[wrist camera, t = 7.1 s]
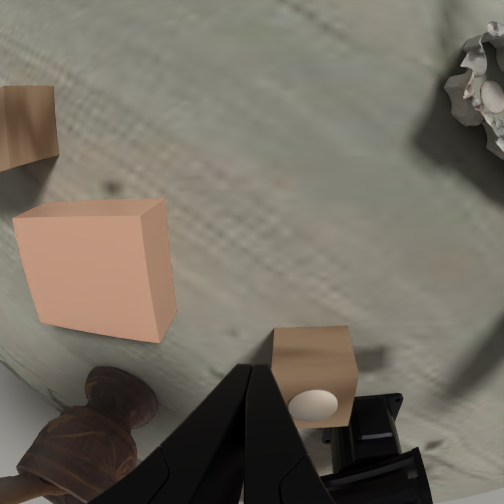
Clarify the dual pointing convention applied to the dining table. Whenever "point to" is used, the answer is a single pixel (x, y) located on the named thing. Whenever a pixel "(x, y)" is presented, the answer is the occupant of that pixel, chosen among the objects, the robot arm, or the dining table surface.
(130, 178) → the dining table surface
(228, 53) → the dining table surface
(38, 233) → the terracotta slab
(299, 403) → the tagged walnut block
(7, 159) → the tagged walnut block
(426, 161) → the dining table surface
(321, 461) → the dining table surface
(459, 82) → the egg carton
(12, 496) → the mortar and pestle
